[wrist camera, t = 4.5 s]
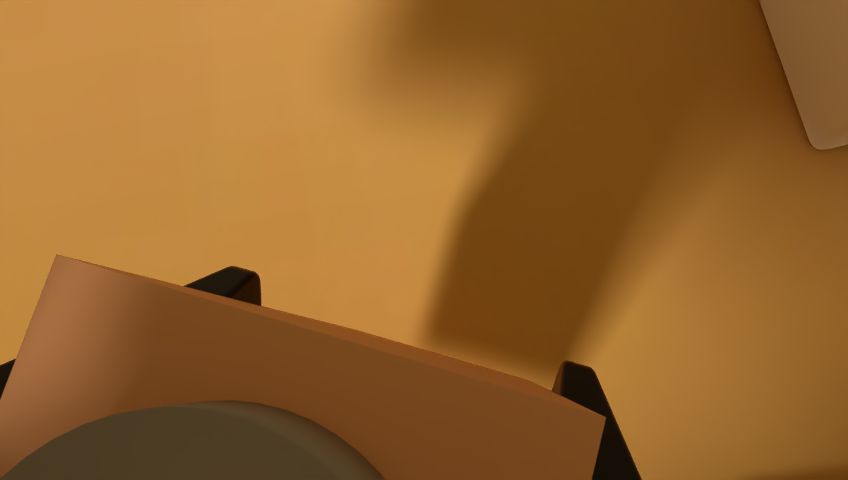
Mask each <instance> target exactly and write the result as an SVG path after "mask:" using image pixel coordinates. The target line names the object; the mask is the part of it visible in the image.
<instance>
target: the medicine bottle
mask: <svg viewBox="0 0 848 480" xmlns="http://www.w3.org/2000/svg"><path fill="white" fill-rule="evenodd" d="M759 2H760V5H761V8H762V10H763V13H764V16H765V19H766V22H767V24H768V27H769V30H770V33H771V35H772V38H773V41H774V44H775V47H776V49H777V52H778V55H779V58H780V61H781V63H782V66H783V69H784V72H785V75H786V77H787V80H788V83H789V86H790V88H791V91H792V94H793V97H794V100H795V102H796V105H797V108H798V111H799V114H800V116H801V119H802V122H803V125H804V128H805V130H806V133H807V136H808V139H809V141H810V143H811V145H812V146H813V147H814V148H816V149H818V150H825V149H831V148H835V147H839V146H844V145H848V0H759Z"/></svg>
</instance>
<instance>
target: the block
mask: <svg viewBox="0 0 848 480" xmlns="http://www.w3.org/2000/svg"><path fill="white" fill-rule="evenodd" d="M605 420H606V417H604V416H602V415H600V414H598V413H596V412H594V411H592V410H590V409H588V408H585V407H583V406H581V405H579V404H577V403H575V402H573V401H571V400H569V399H567V398H565V397H563V396H560V395H558V394H556V393H554V392H552V391H550V390H548V389H546V388H544V387H542V386H540V385H538V384H536V383H533V382H531V381H529V380H525V379H522V378H519V377H515V376H512V375H508V374H505V373H502V372H498V371H495V370H491V369H488V368H484V367H481V366H478V365H474V364H471V363H467V362H464V361H461V360H457V359H454V358H450V357H447V356H443V355H440V354H437V353H433V352H430V351H426V350H423V349H420V348H416V347H413V346H409V345H406V344H403V343H399V342H396V341H392V340H389V339H385V338H382V337H379V336H375V335H372V334H368V333H365V332H362V331H358V330H354V329H350V328H346V327H342V326H338V325H335V324H331V323H327V322H323V321H319V320H315V319H311V318H307V317H303V316H299V315H295V314H291V313H287V312H283V311H279V310H275V309H271V308H267V307H263V306H259V305H255V304H251V303H247V302H243V301H239V300H235V299H231V298H227V297H224V296H220V295H216V294H212V293H208V292H204V291H200V290H196V289H192V288H188V287H184V286H180V285H176V284H172V283H168V282H164V281H160V280H156V279H152V278H148V277H144V276H140V275H136V274H132V273H128V272H124V271H120V270H116V269H112V268H109V267H105V266H101V265H97V264H93V263H89V262H85V261H81V260H77V259H73V258H69V257H65V256H61V255H57V254H56V256H55V259H54V262H53V264H52V267H51V269H50V272H49V275H48V277H47V280H46V282H45V285H44V288H43V290H42V293H41V295H40V298H39V301H38V303H37V306H36V308H35V311H34V314H33V316H32V319H31V321H30V324H29V327H28V329H27V332H26V334H25V337H24V340H23V342H22V345H21V347H20V350H19V352H18V355H17V358H16V360H15V363H14V365H13V368H12V371H11V373H10V376H9V378H8V381H7V384H6V386H5V389H4V391H3V394H2V397H1V399H0V480H592V476H593V471H594V467H595V463H596V459H597V454H598V450H599V446H600V441H601V437H602V433H603V429H604V424H605Z"/></svg>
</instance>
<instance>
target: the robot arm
mask: <svg viewBox="0 0 848 480" xmlns="http://www.w3.org/2000/svg"><path fill="white" fill-rule="evenodd" d="M184 287H188V288H192V289H196V290H200V291H204V292H208V293H212V294H216V295H220V296H224V297H227V298H231V299H235V300H239V301H243V302H247V303H251V304H255V305H259V306H261V285H260V278H259V275H258V274H257V273H256V272H254V271H250V270H247V269H243V268H240V267H236V266H230V267H227V268H224V269H222V270H220V271H217V272H215V273H213V274H211V275H208V276H206V277H204V278H201V279H199V280H197V281H194V282H192V283H190V284H187V285H185V286H184ZM15 360H16V359H14V360H11V361H9V362H7V363H4V364H2V365H0V399H1V397H2V394H3V391H4V389H5V386H6V384H7V381H8V378H9V376H10V373H11V371H12V368H13V365H14V363H15ZM552 392H554V393H556V394H558V395H560V396H563V397H565V398H567V399H569V400H571V401H573V402H575V403H577V404H579V405H581V406H583V407H585V408H588V409H590V410H592V411H594V412H596V413H598V414H600V415H602V416H604V417H606V420H605V424H604V429H603V433H602V437H601V441H600V446H599V450H598V454H597V459H596V463H595V467H594V471H593V476H592V480H642V479H641V477H640V475H639V472H638V470H637V468H636V465H635V463H634V461H633V459H632V456H631V454H630V452H629V449H628V447H627V445H626V442H625V440H624V438H623V436H622V433H621V431H620V429H619V426H618V424H617V422H616V419H615V417H614V415H613V412H612V410H611V408H610V406H609V403H608V401H607V399H606V396H605V394H604V392H603V389H602V387H601V385H600V382H599V380H598V378H597V376H596V373H595V371H594V370H593V369H592V368H590V367H588V366H584V365H581V364H577V363H574V362H570V361H564V362H563V363H562V364H561V366H560V368H559V371H558V374H557V377H556V380H555V383H554V386H553V388H552Z"/></svg>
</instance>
